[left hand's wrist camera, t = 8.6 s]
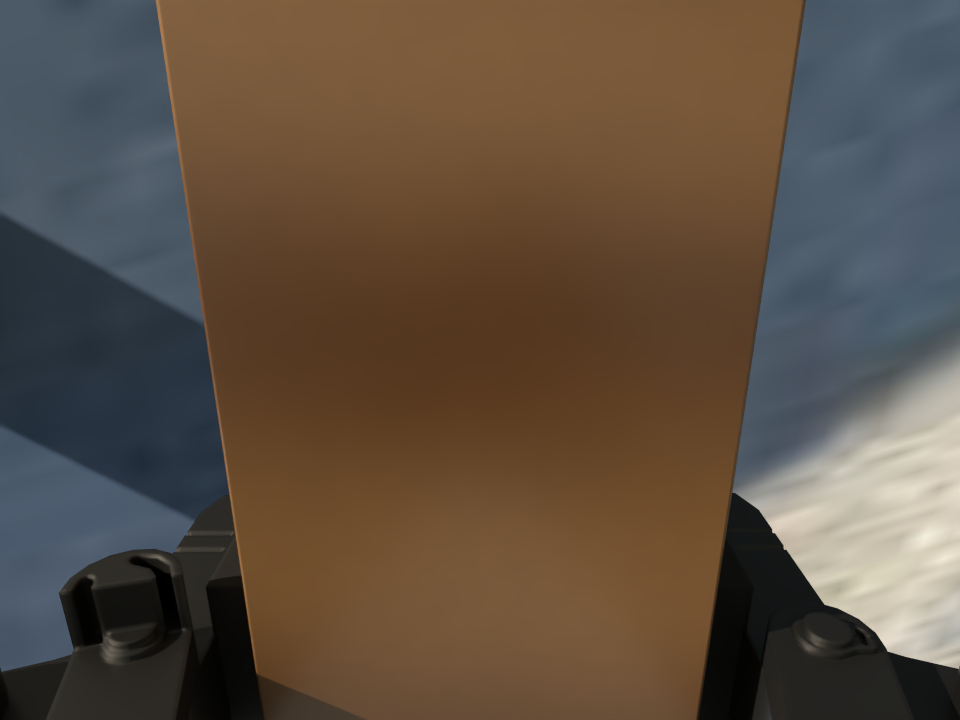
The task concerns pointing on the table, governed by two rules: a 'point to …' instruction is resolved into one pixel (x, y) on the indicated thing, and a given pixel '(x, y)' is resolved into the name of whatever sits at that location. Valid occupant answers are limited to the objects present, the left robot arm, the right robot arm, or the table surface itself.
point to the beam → (480, 336)
